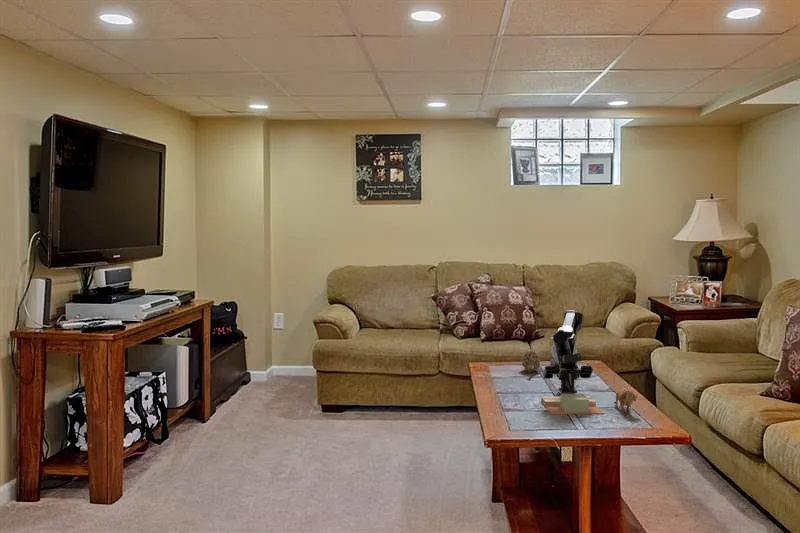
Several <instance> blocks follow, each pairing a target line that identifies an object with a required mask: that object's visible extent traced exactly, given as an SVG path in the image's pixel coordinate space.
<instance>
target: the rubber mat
mask: <svg viewBox="0 0 800 533" xmlns="http://www.w3.org/2000/svg"><path fill="white" fill-rule="evenodd" d="M545 408H546V409H547V411H548V412H549V413H550V414H551V415H605V412H603V411H602V410H601V409H600V408H599V406H597V405H596V406H589V412H564V411H563V409H562V408H561V407H560V406H546V407H545Z"/></svg>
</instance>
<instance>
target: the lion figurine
mask: <svg viewBox="0 0 800 533" xmlns="http://www.w3.org/2000/svg"><path fill="white" fill-rule="evenodd" d="M637 399H638V396H636V394H635V393H634V391H633V390H626V391H622V390H618V391H617V392H616V394H615V401H614V402H613V404H615V406H614V408H615V409H618V408H619V406H620V413H621V414H624V413H625V411H626V412H627V413H631V410H630V406H631V405H632V404H633V403H634V402H637ZM618 402H619V403H618ZM618 404H619V405H618ZM624 407H626V410H625V409H624Z"/></svg>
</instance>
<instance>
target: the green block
mask: <svg viewBox="0 0 800 533" xmlns="http://www.w3.org/2000/svg"><path fill="white" fill-rule="evenodd" d="M559 397H560V407H561V408H562V409H563V411H564V412H589V399H588V398H587V397H586V395H585V394H584V393H573V394H572V393H568V394H567V393H566V394H565V393H563V394H561V393H560V396H559Z"/></svg>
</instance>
